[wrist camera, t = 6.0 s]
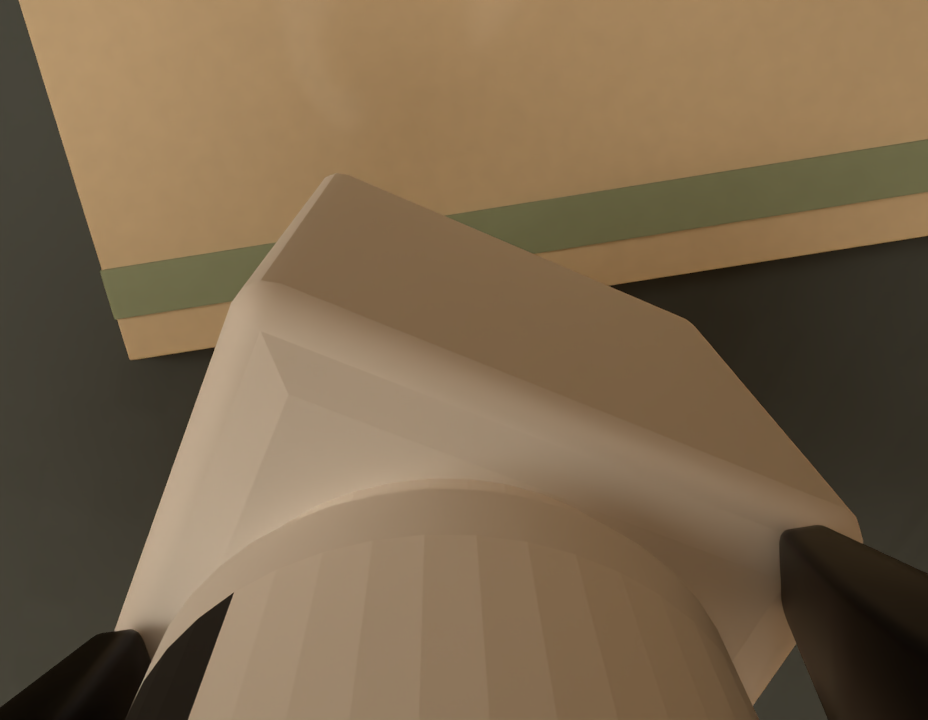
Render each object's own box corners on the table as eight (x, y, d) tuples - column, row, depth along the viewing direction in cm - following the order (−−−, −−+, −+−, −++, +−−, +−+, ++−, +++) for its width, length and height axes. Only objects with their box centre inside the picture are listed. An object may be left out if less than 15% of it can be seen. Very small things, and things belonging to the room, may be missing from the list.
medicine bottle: (532, 618, 18) (683, 1597, 7) (201, 503, 17) (-279, 1464, 6) (698, 320, 16) (1348, 1061, 4) (328, 161, 14) (-49, 630, 3)
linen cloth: (965, -314, 17) (986, -328, 16) (941, 227, 21) (957, 233, 20) (-16, -148, 18) (-33, -156, 17) (137, 353, 21) (127, 362, 21)
